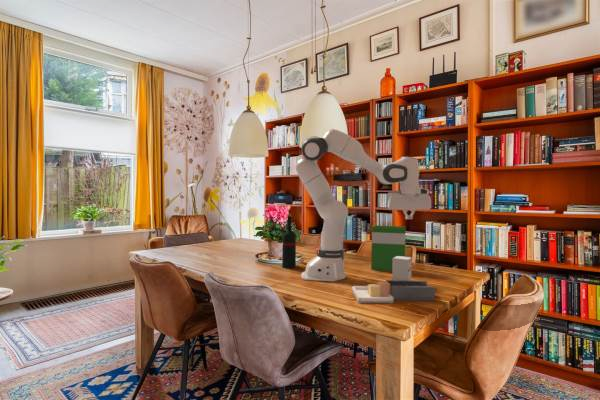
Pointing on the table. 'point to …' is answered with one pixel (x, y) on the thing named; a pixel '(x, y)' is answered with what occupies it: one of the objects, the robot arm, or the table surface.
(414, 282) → the slot block
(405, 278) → the supplement box
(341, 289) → the table surface
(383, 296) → the tray
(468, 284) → the table surface
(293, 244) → the wine bottle
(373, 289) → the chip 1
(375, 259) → the hardback book
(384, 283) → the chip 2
